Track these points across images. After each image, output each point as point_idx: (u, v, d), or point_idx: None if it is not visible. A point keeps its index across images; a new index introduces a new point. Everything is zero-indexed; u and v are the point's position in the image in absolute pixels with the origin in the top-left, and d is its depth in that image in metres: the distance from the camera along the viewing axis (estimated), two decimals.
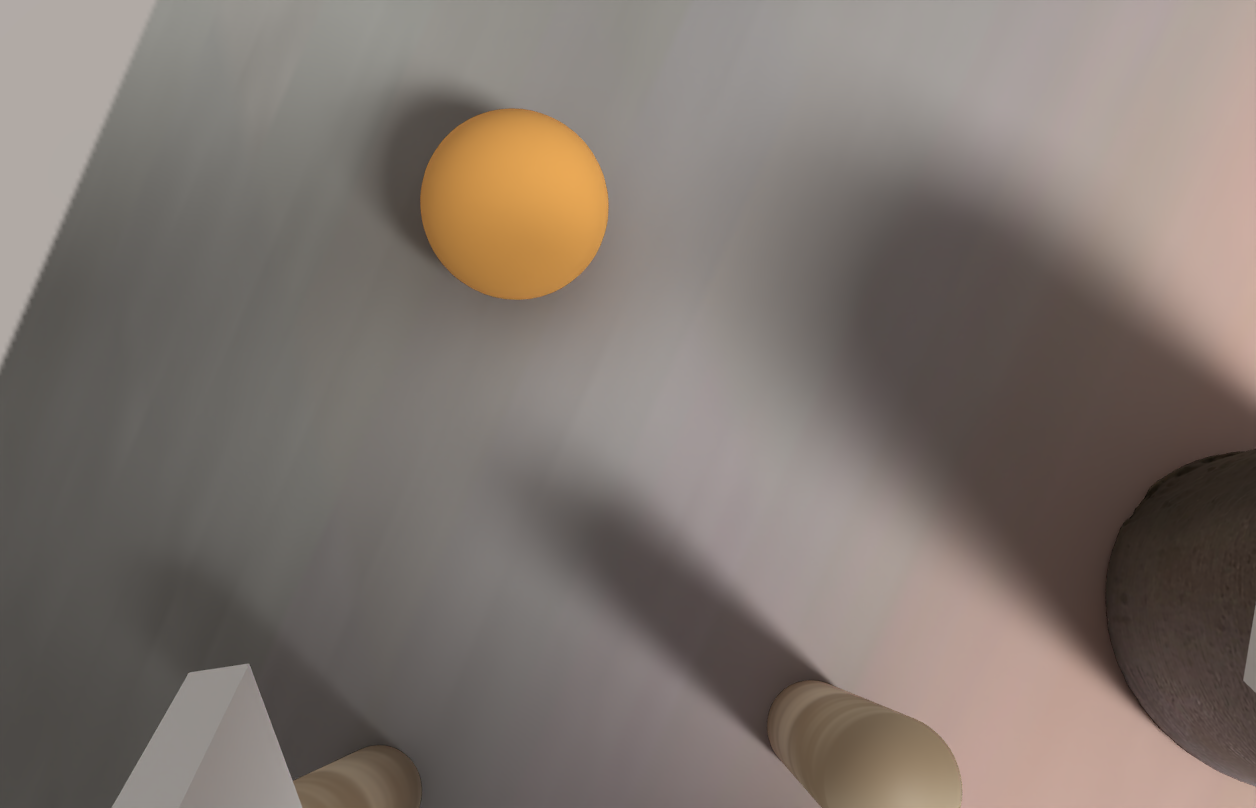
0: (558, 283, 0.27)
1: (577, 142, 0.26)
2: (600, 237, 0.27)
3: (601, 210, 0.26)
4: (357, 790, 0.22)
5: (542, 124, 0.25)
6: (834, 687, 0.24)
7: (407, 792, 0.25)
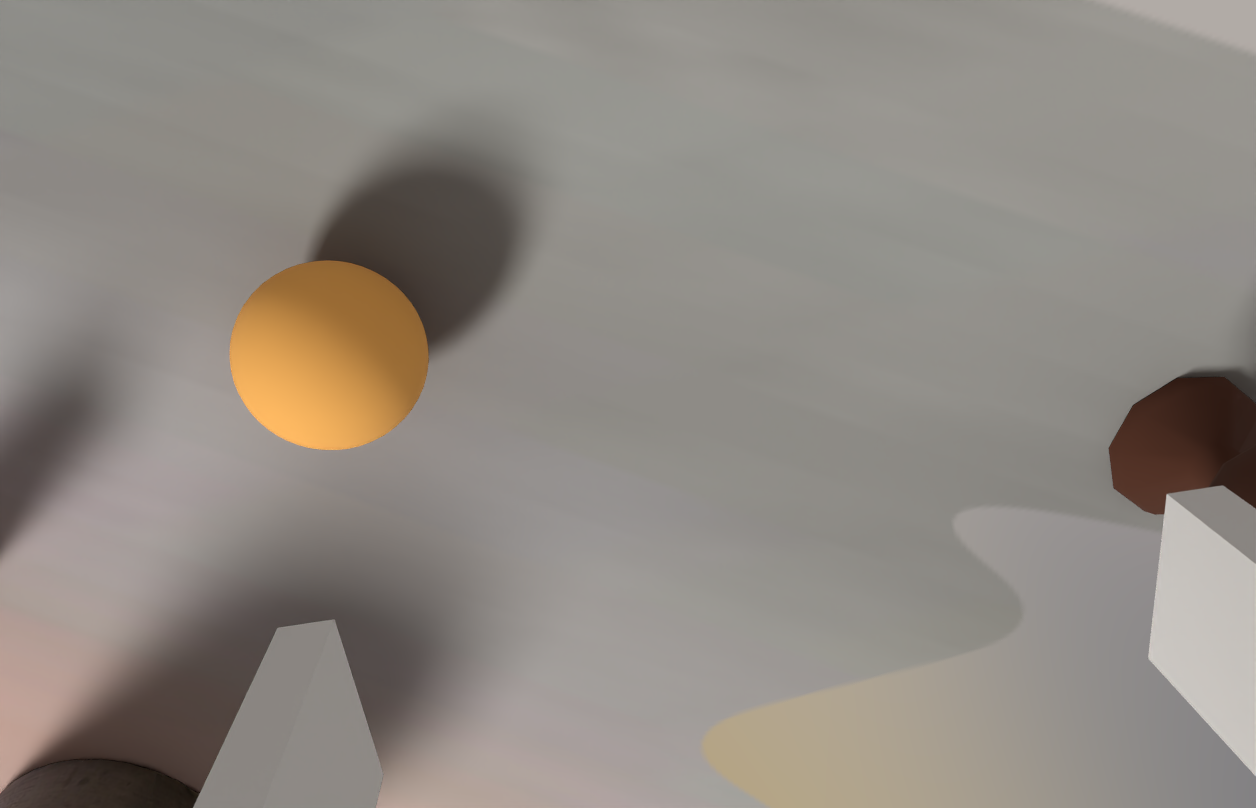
0: None
1: (370, 437, 0.26)
2: None
3: None
4: None
5: (372, 415, 0.25)
6: None
7: None
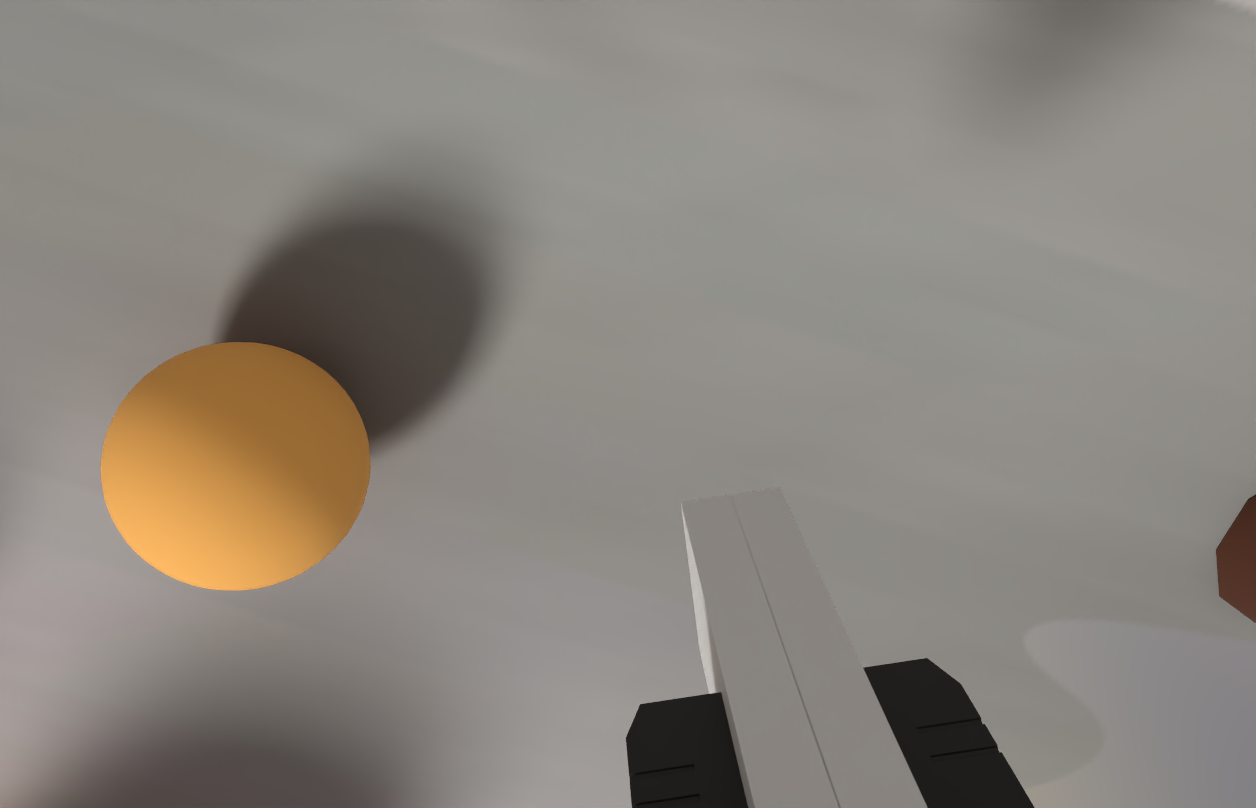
0: None
1: (291, 575, 0.20)
2: None
3: None
4: None
5: (289, 552, 0.19)
6: None
7: None
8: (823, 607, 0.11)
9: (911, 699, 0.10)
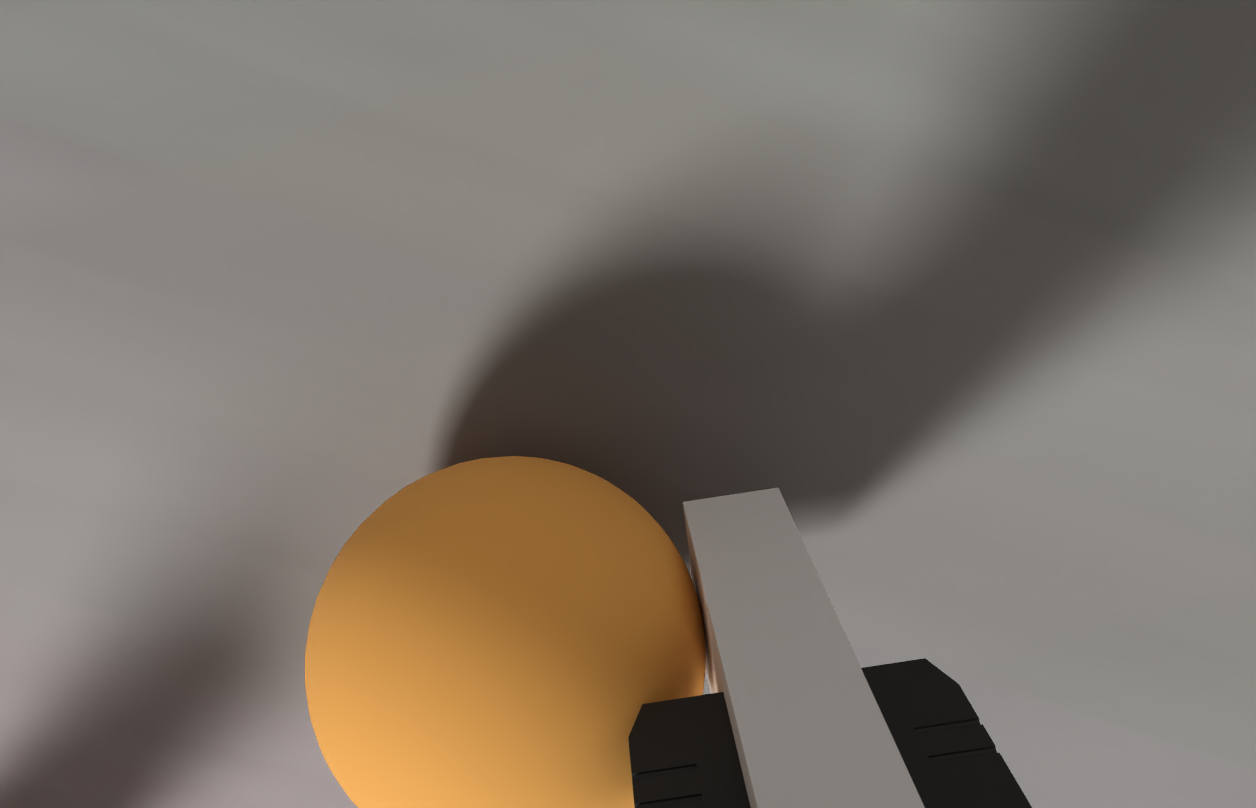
0: None
1: None
2: None
3: None
4: None
5: None
6: None
7: None
8: (821, 607, 0.11)
9: (909, 700, 0.10)
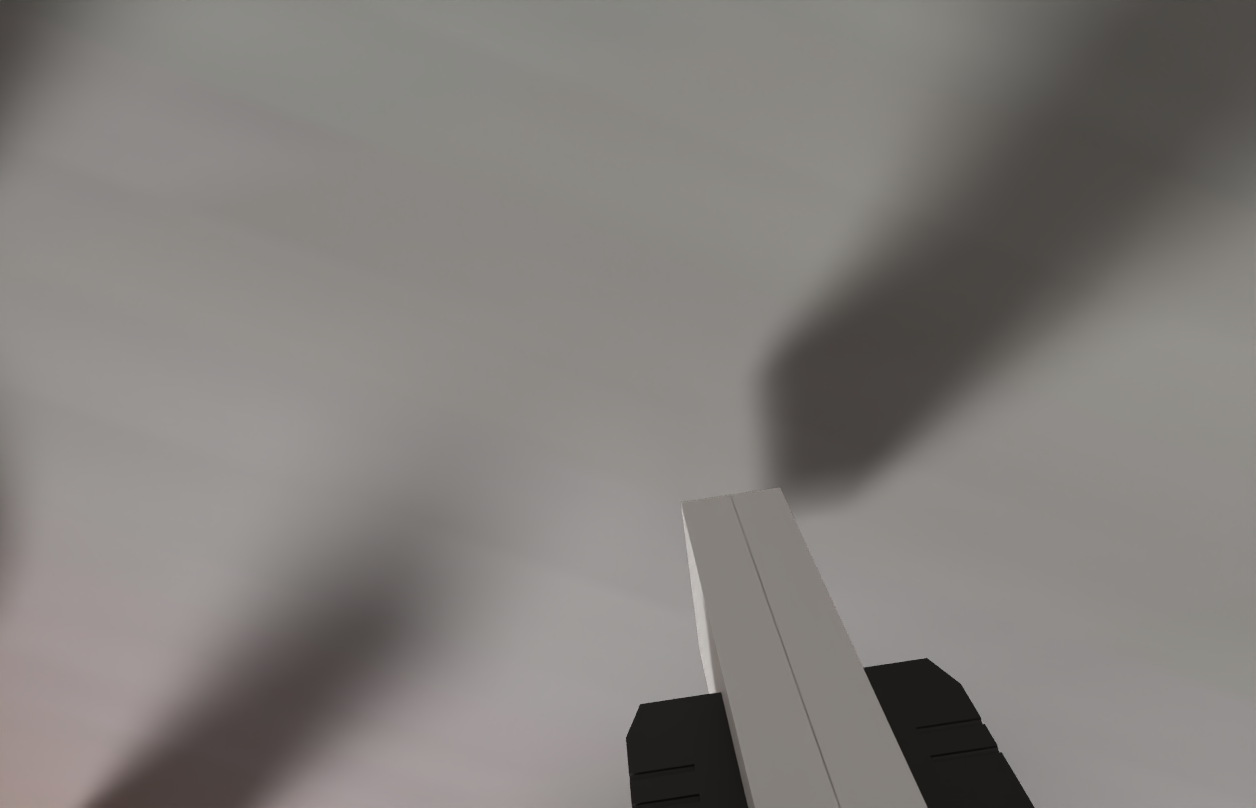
0: None
1: None
2: None
3: None
4: None
5: None
6: None
7: None
8: (823, 607, 0.11)
9: (911, 699, 0.10)
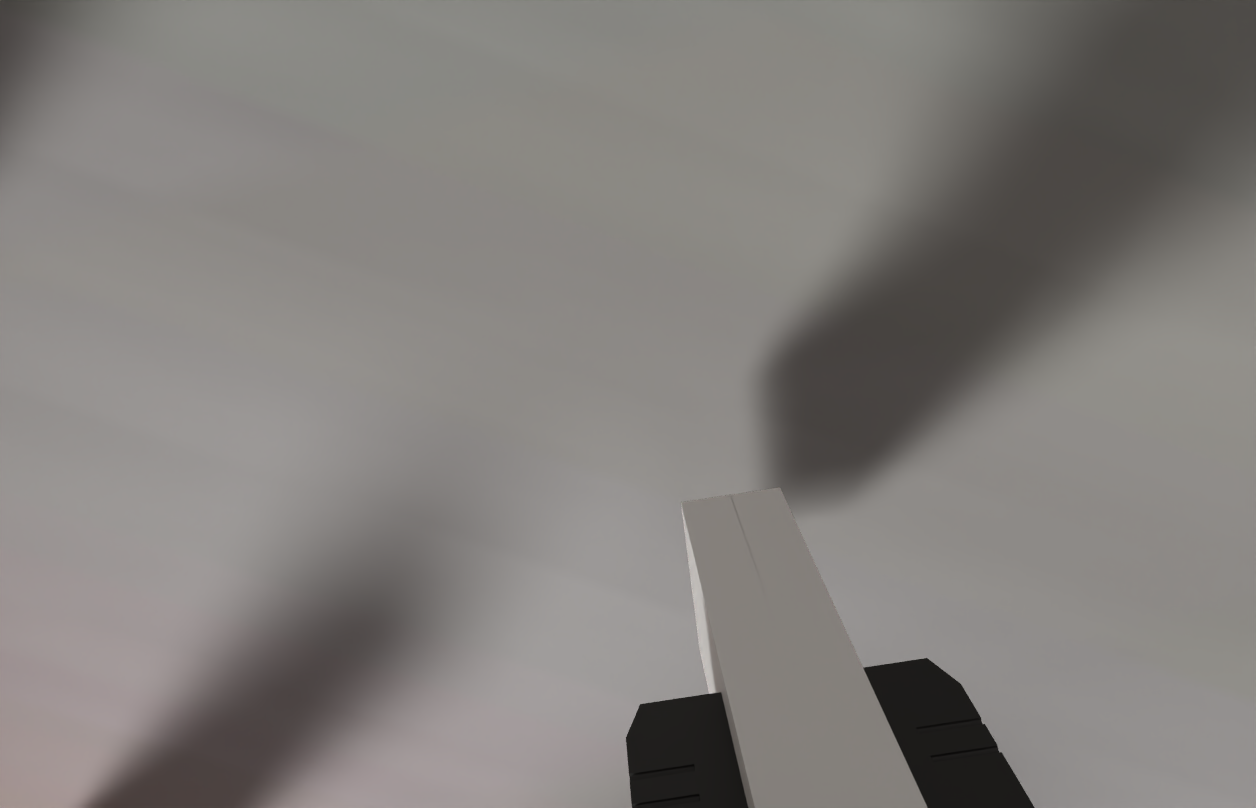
0: None
1: None
2: None
3: None
4: None
5: None
6: None
7: None
8: (823, 607, 0.11)
9: (911, 699, 0.10)
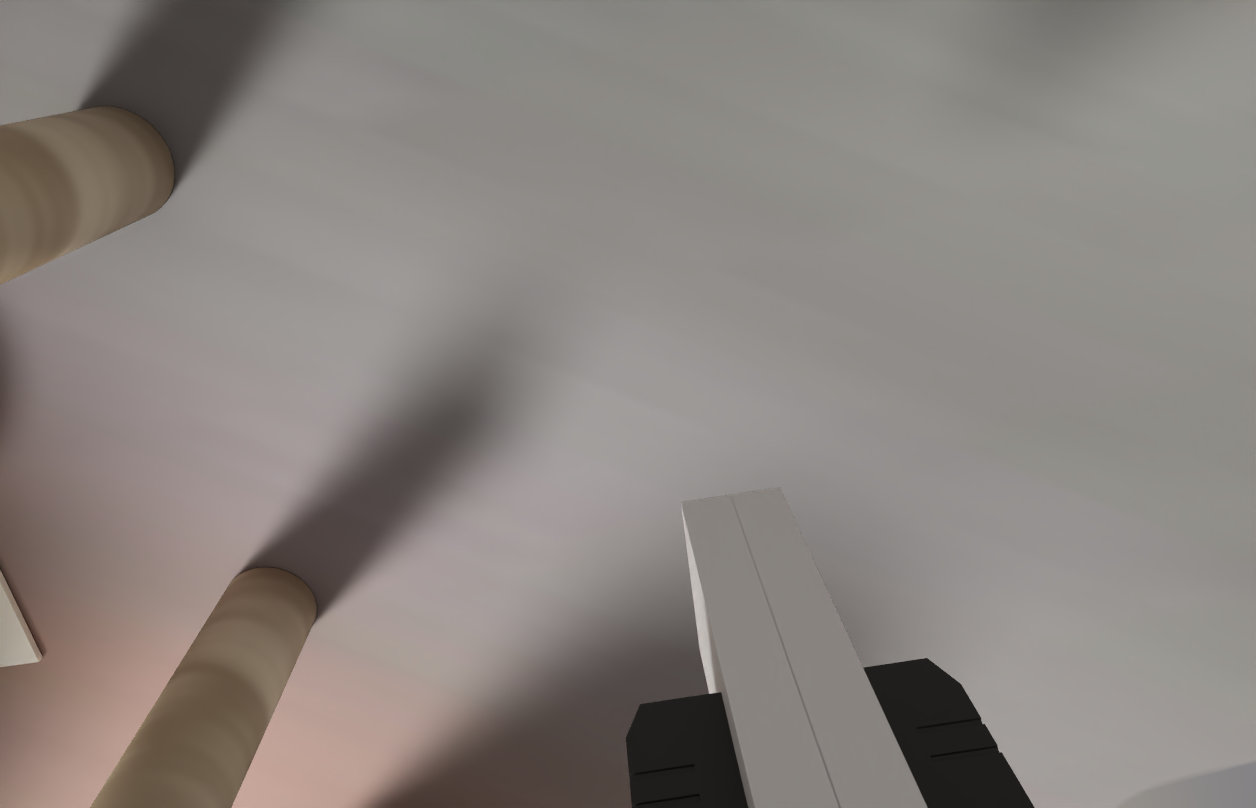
0: None
1: None
2: None
3: None
4: (58, 250, 0.17)
5: None
6: (293, 662, 0.25)
7: None
8: (823, 607, 0.11)
9: (911, 699, 0.10)
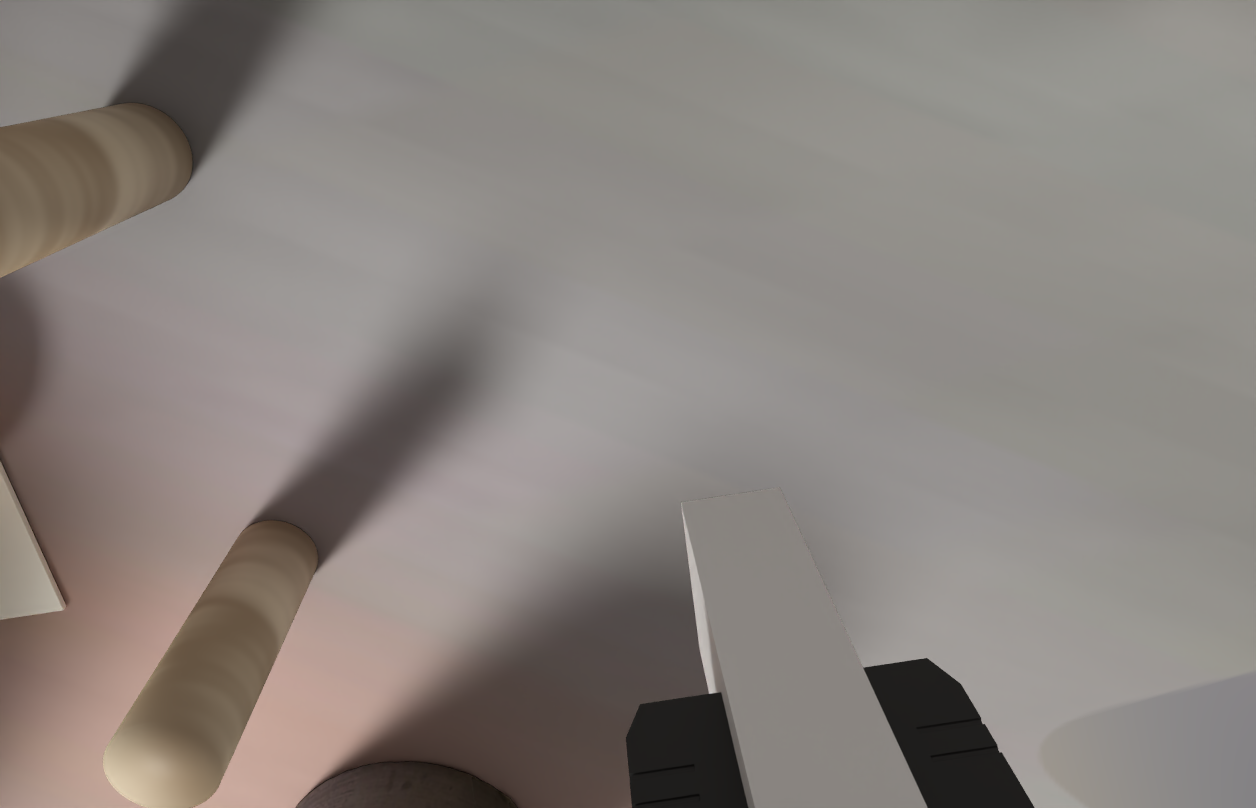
0: None
1: None
2: None
3: None
4: (100, 225, 0.20)
5: None
6: (299, 603, 0.27)
7: None
8: (823, 607, 0.11)
9: (911, 699, 0.10)
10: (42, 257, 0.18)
